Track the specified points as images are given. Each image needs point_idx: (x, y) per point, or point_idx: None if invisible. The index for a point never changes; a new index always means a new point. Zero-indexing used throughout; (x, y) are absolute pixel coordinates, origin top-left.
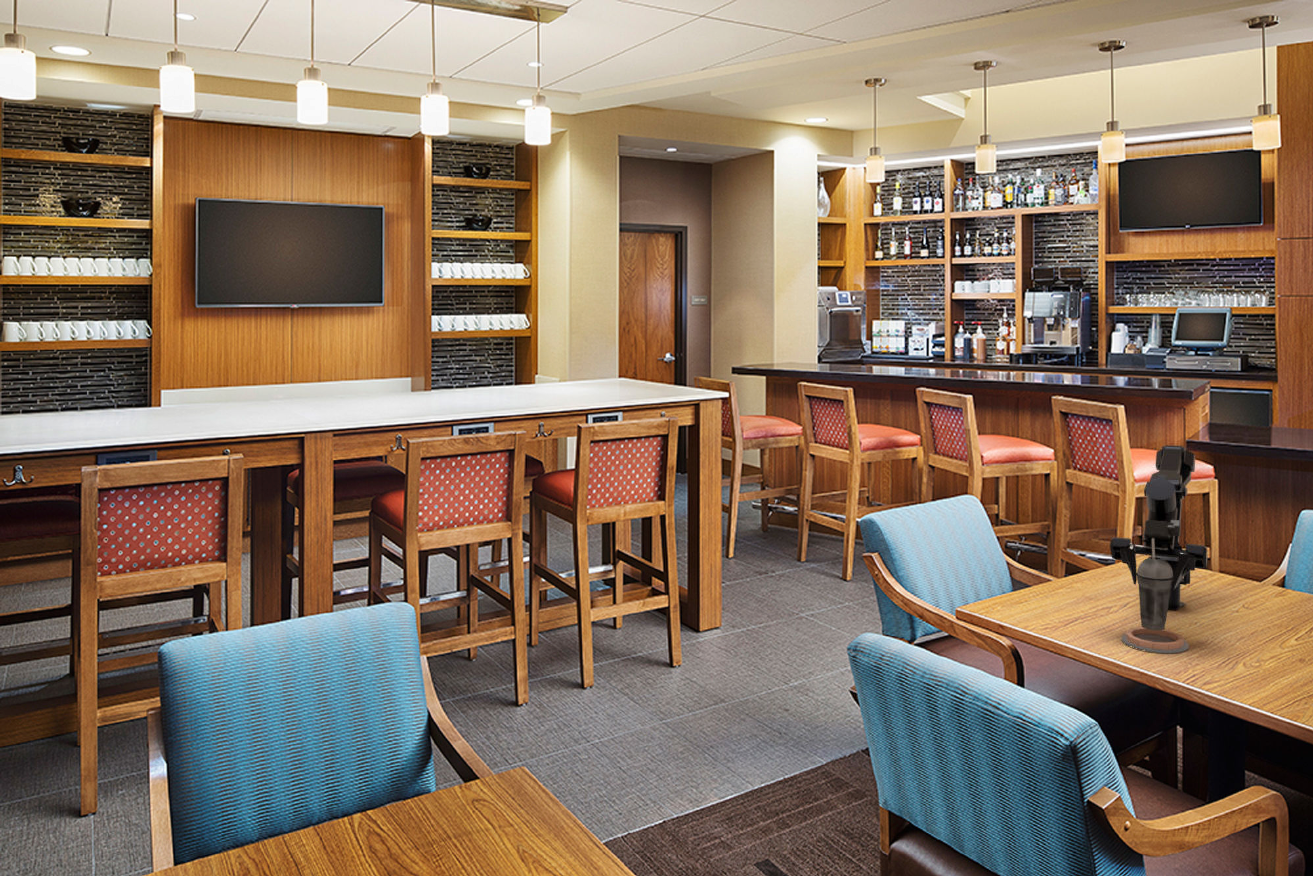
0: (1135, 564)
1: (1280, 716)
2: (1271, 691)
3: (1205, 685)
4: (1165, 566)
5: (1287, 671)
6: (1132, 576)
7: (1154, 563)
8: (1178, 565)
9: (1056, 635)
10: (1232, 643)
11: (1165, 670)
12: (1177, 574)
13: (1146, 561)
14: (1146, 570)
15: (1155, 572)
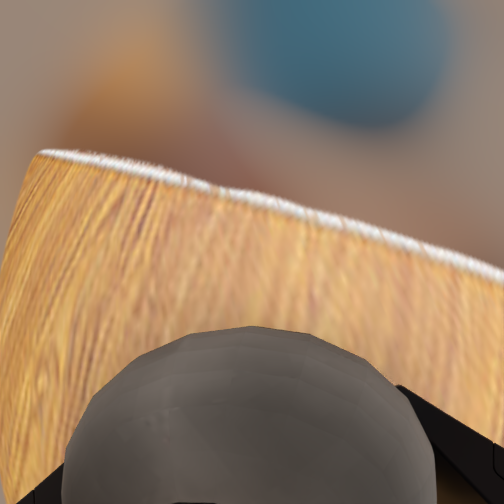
0: (475, 487)
1: (47, 154)
2: (33, 236)
3: (120, 192)
4: (76, 429)
5: (4, 361)
6: (430, 404)
7: (196, 399)
8: None
9: (490, 305)
10: None
11: (194, 222)
12: (57, 480)
13: (356, 442)
14: (304, 336)
15: (195, 335)
